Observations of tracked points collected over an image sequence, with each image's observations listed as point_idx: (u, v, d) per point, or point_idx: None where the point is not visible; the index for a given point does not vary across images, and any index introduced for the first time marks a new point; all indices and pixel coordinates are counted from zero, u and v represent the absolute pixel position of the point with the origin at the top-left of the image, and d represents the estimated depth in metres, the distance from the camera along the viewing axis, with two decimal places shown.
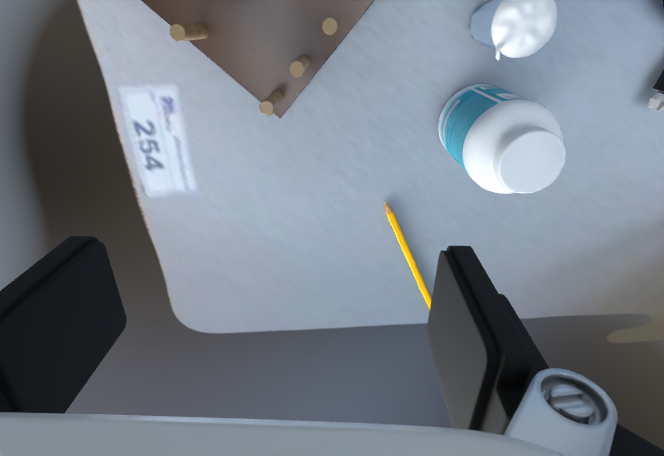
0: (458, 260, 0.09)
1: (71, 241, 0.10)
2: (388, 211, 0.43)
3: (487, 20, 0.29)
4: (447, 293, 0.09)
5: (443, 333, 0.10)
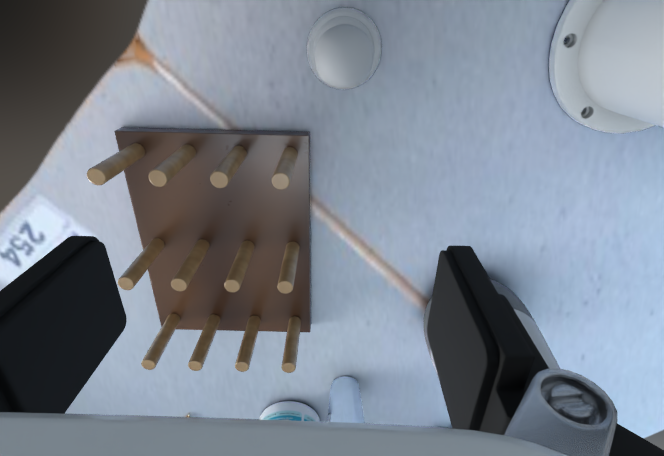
0: (458, 260, 0.09)
1: (71, 241, 0.10)
2: None
3: None
4: (447, 293, 0.09)
5: (443, 333, 0.10)
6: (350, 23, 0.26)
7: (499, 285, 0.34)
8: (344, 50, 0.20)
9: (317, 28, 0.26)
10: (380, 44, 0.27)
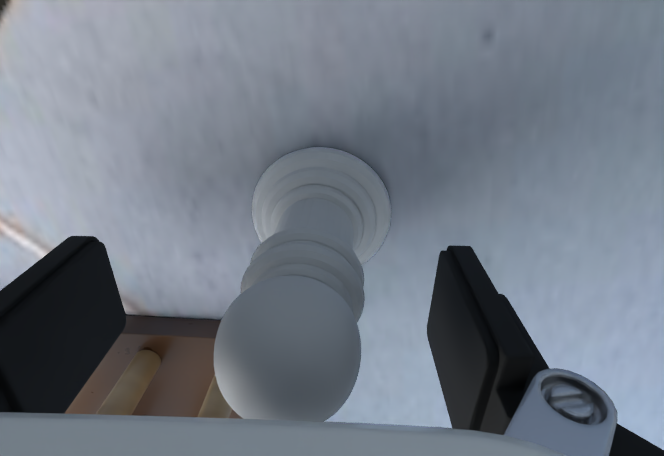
0: (458, 260, 0.09)
1: (71, 241, 0.10)
2: None
3: None
4: (447, 293, 0.09)
5: (443, 333, 0.10)
6: (328, 183, 0.13)
7: None
8: (273, 393, 0.07)
9: (267, 185, 0.14)
10: (388, 210, 0.14)
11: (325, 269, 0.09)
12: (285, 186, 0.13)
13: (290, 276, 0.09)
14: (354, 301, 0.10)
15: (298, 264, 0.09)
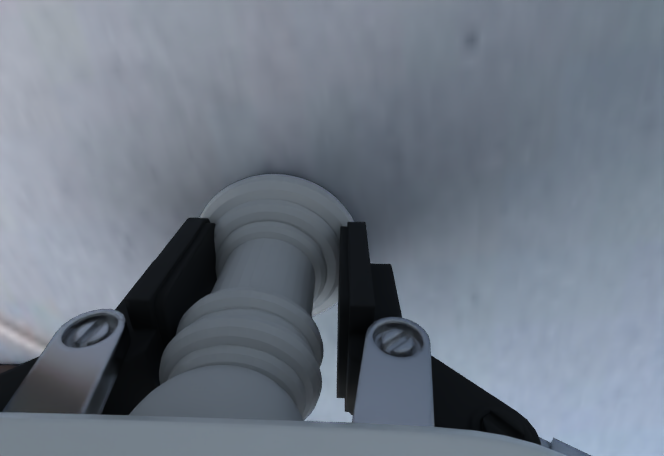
0: (348, 233, 0.10)
1: (192, 222, 0.11)
2: None
3: None
4: None
5: None
6: (283, 220, 0.11)
7: None
8: None
9: None
10: None
11: (265, 351, 0.07)
12: (230, 223, 0.11)
13: (213, 371, 0.06)
14: (307, 387, 0.08)
15: (228, 347, 0.07)
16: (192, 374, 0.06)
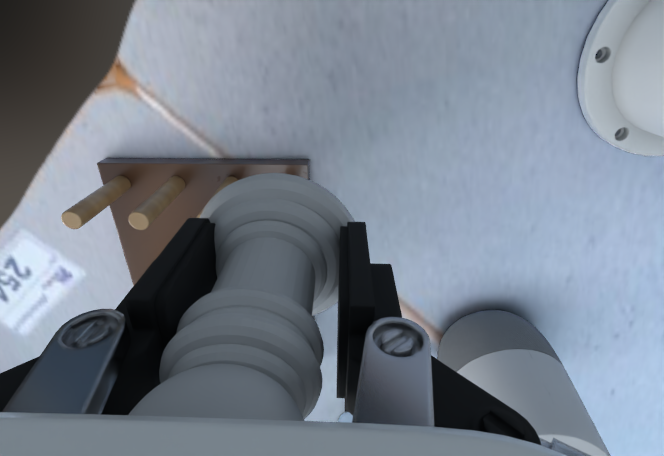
0: (348, 233, 0.10)
1: (192, 222, 0.11)
2: None
3: None
4: None
5: (338, 299, 0.11)
6: (283, 219, 0.11)
7: (521, 321, 0.31)
8: None
9: (210, 221, 0.11)
10: None
11: (266, 350, 0.07)
12: (231, 222, 0.11)
13: (213, 370, 0.06)
14: (307, 386, 0.08)
15: (229, 345, 0.07)
16: (192, 372, 0.06)
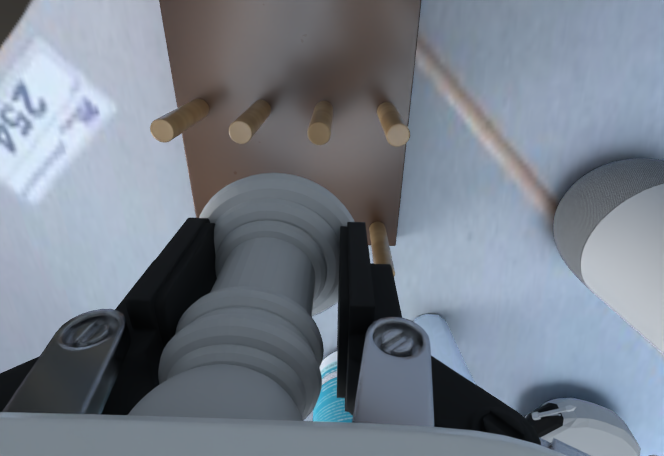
0: (348, 233, 0.10)
1: (192, 222, 0.11)
2: None
3: None
4: None
5: (338, 299, 0.11)
6: (282, 219, 0.11)
7: None
8: None
9: None
10: None
11: (265, 351, 0.07)
12: (230, 222, 0.11)
13: (212, 370, 0.06)
14: (307, 387, 0.08)
15: (228, 346, 0.07)
16: (191, 373, 0.06)
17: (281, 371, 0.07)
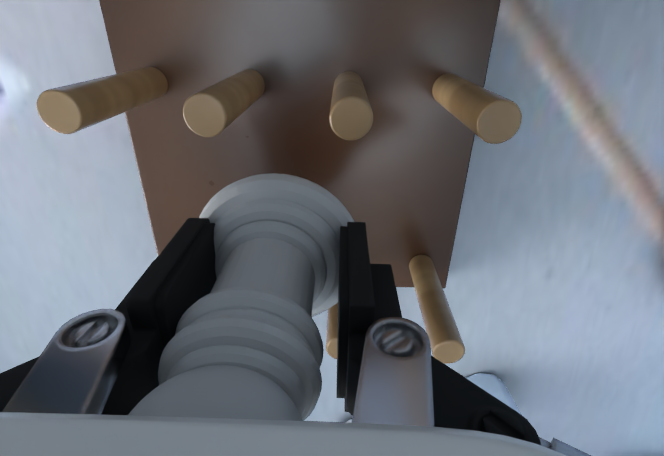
0: (348, 233, 0.10)
1: (192, 222, 0.11)
2: None
3: None
4: None
5: (338, 299, 0.11)
6: (282, 219, 0.11)
7: None
8: None
9: None
10: None
11: (265, 351, 0.07)
12: (230, 223, 0.11)
13: (212, 371, 0.06)
14: (307, 387, 0.08)
15: (228, 347, 0.07)
16: (191, 374, 0.06)
17: (281, 372, 0.07)
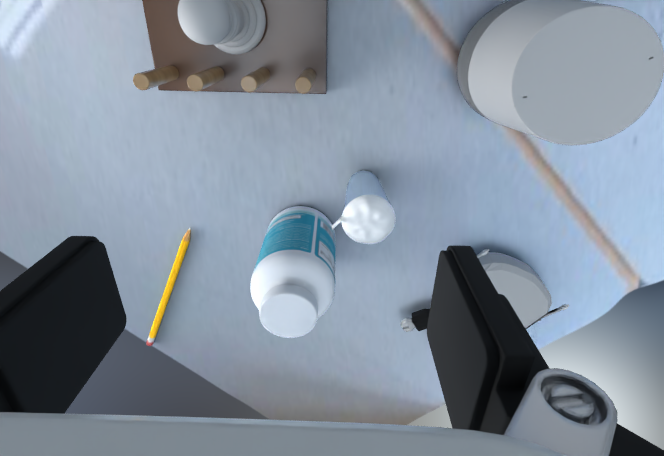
0: (458, 260, 0.09)
1: (71, 241, 0.10)
2: (185, 238, 0.42)
3: (354, 192, 0.33)
4: (447, 293, 0.09)
5: (443, 333, 0.10)
6: None
7: None
8: (195, 8, 0.24)
9: None
10: (263, 12, 0.31)
11: None
12: None
13: None
14: (232, 14, 0.26)
15: None
16: None
17: None
